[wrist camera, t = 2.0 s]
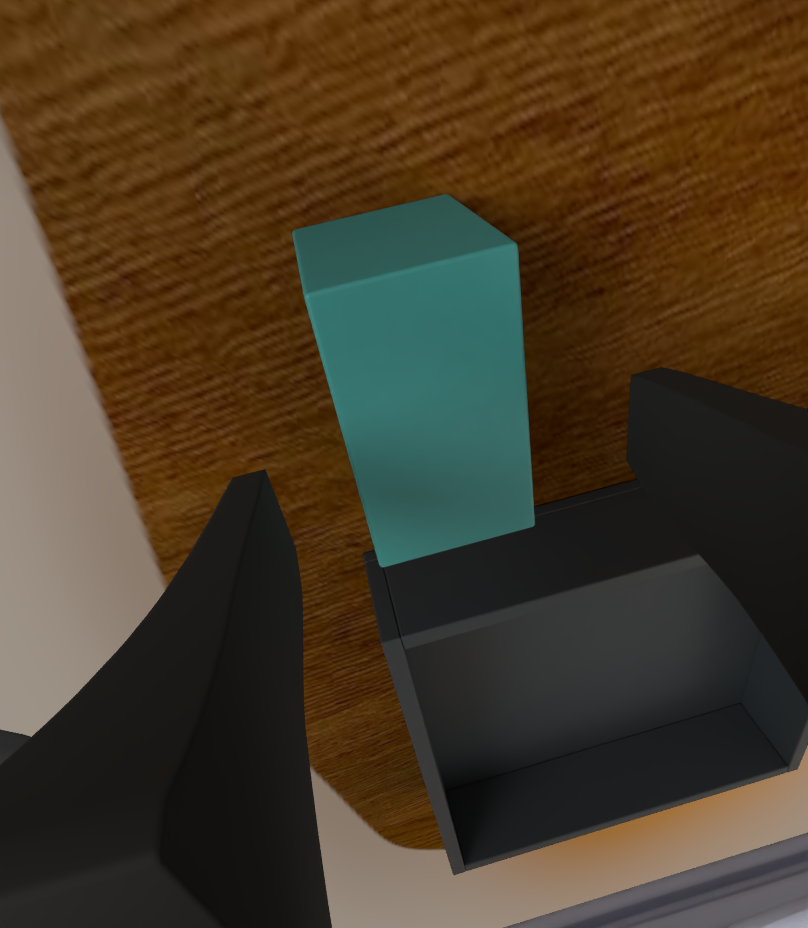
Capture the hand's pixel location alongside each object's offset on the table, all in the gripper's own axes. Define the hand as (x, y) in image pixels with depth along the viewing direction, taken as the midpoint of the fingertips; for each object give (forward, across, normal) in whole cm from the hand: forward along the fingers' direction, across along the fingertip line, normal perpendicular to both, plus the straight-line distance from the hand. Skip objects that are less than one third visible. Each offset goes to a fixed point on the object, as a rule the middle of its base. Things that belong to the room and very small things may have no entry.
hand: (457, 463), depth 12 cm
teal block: (+6, 0, 0) cm, 6 cm away
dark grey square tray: (+6, -6, +16) cm, 18 cm away
